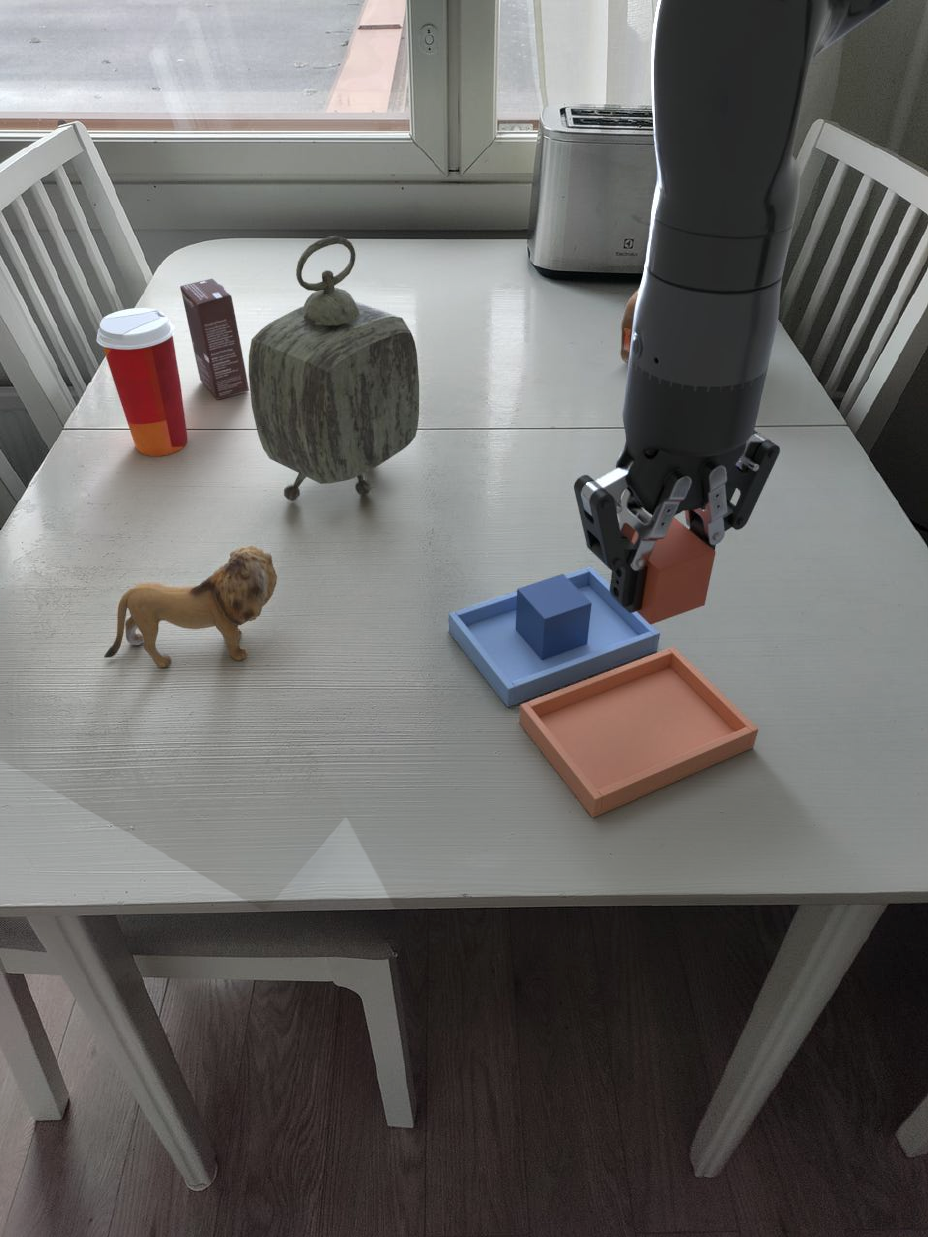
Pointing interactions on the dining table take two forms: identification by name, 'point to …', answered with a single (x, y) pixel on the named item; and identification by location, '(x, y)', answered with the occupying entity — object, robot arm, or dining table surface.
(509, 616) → the blue tray
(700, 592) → the terracotta block
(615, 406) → the dining table surface
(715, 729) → the clay tray
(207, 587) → the lion figurine
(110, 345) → the paper cup
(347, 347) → the tabletop clock
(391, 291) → the dining table surface
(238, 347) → the box
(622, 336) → the tin
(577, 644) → the blue block
